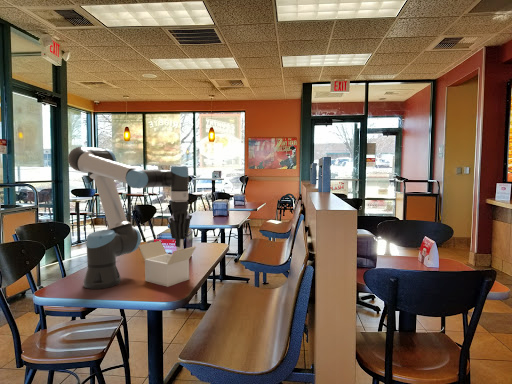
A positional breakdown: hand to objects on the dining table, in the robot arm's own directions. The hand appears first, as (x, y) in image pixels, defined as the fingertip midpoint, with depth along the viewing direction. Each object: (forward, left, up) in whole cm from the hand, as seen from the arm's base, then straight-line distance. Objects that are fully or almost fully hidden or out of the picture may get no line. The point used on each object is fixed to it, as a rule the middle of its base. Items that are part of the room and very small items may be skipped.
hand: (179, 253), depth 158 cm
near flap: (0, -1, 0) cm, 1 cm away
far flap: (0, +18, 0) cm, 18 cm away
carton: (0, +9, -13) cm, 16 cm away
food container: (+25, +49, -14) cm, 56 cm away
